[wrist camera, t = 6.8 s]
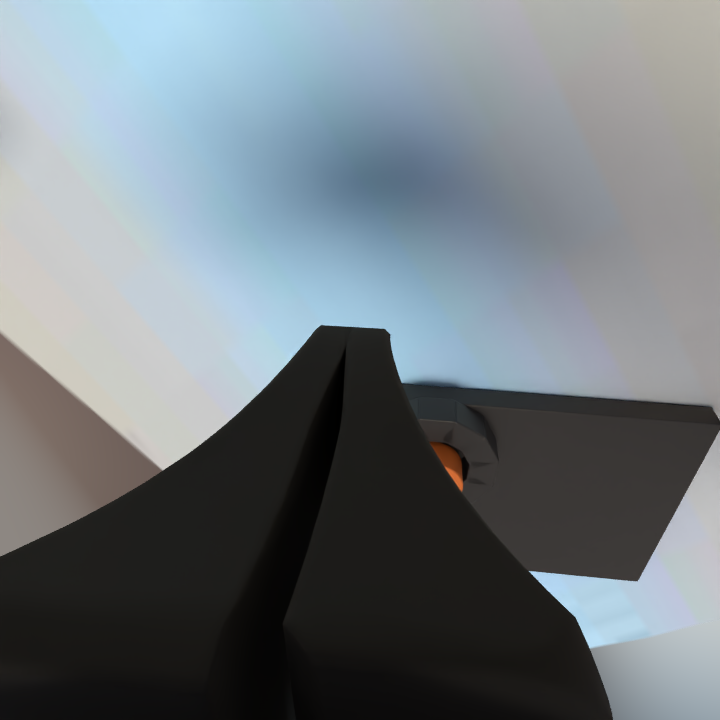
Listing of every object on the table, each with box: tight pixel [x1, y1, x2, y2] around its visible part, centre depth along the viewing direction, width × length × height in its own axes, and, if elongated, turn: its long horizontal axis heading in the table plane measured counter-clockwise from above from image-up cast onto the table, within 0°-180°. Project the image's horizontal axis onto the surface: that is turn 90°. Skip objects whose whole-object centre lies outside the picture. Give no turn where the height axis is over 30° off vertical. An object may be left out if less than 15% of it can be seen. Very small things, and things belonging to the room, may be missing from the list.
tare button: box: [430, 442, 463, 492], centre depth 23 cm, size 3×3×1 cm
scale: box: [402, 384, 720, 581], centre depth 26 cm, size 14×11×2 cm
